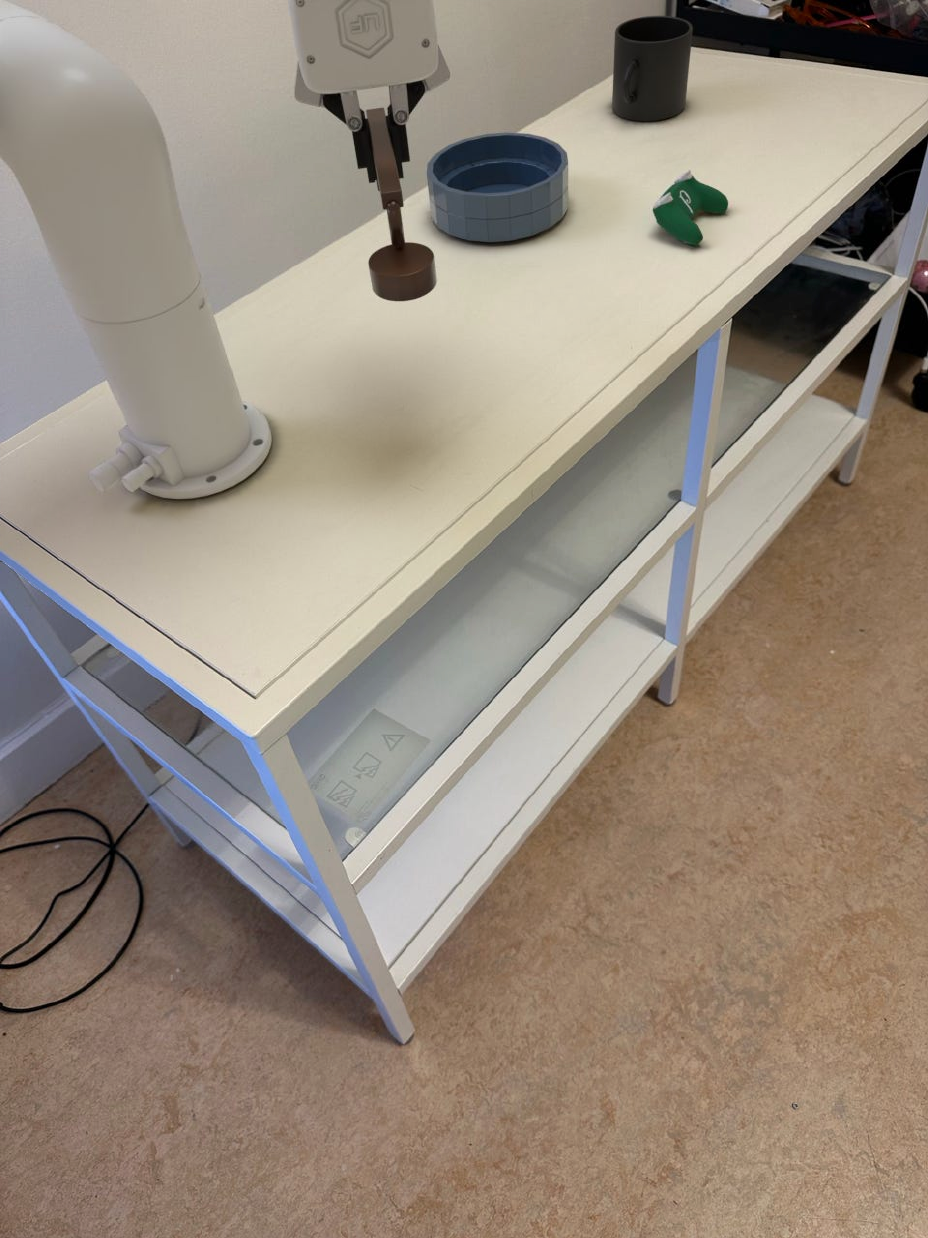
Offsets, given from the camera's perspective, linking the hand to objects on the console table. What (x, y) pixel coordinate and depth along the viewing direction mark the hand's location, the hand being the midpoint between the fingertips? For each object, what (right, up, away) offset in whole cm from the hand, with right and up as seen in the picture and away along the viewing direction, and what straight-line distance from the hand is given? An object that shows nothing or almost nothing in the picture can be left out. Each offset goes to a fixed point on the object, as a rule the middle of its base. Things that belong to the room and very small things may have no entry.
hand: (384, 171), depth 73 cm
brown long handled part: (+1, -6, -2) cm, 6 cm away
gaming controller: (+31, +6, +24) cm, 40 cm away
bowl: (+10, +10, +30) cm, 33 cm away
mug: (+30, +30, +44) cm, 61 cm away
